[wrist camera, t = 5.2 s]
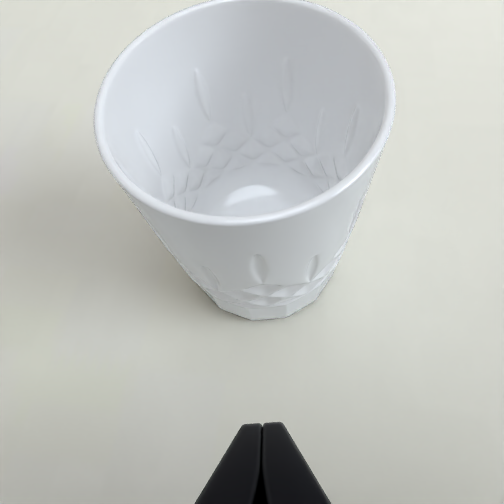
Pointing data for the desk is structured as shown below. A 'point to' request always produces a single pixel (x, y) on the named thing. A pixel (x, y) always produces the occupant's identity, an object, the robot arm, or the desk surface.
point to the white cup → (249, 143)
